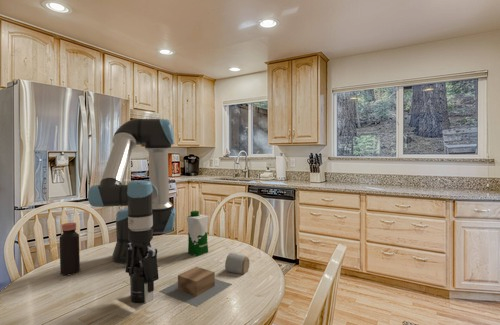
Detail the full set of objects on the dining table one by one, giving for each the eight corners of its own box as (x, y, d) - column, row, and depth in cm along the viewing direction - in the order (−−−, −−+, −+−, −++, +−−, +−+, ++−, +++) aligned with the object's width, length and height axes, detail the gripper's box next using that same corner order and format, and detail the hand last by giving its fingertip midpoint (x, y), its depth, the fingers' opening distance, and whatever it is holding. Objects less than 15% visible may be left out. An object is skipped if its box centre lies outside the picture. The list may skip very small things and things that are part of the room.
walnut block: (177, 289, 98) (177, 275, 98) (196, 279, 106) (196, 266, 106) (196, 296, 93) (196, 281, 93) (214, 285, 101) (214, 272, 101)
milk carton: (198, 248, 145) (198, 209, 144) (211, 251, 139) (210, 211, 139) (185, 253, 138) (184, 212, 137) (198, 257, 132) (197, 214, 132)
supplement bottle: (131, 308, 88) (130, 270, 88) (129, 298, 94) (129, 263, 94) (154, 303, 91) (153, 266, 91) (151, 294, 97) (150, 259, 97)
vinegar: (56, 273, 115) (55, 224, 114) (73, 267, 121) (72, 221, 120) (66, 277, 112) (65, 226, 111) (83, 270, 118) (82, 223, 117)
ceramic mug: (243, 278, 109) (243, 258, 109) (224, 275, 112) (224, 255, 112) (253, 268, 119) (253, 250, 119) (235, 265, 122) (235, 248, 122)
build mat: (159, 294, 97) (158, 291, 97) (196, 275, 112) (196, 272, 112) (196, 309, 87) (196, 306, 87) (232, 286, 102) (232, 284, 102)
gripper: (112, 226, 95) (114, 294, 95) (150, 235, 84) (151, 312, 84) (132, 222, 101) (134, 285, 101) (170, 230, 90) (171, 301, 90)
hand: (141, 297), depth 93 cm, fingers closed on supplement bottle, 7 cm apart
